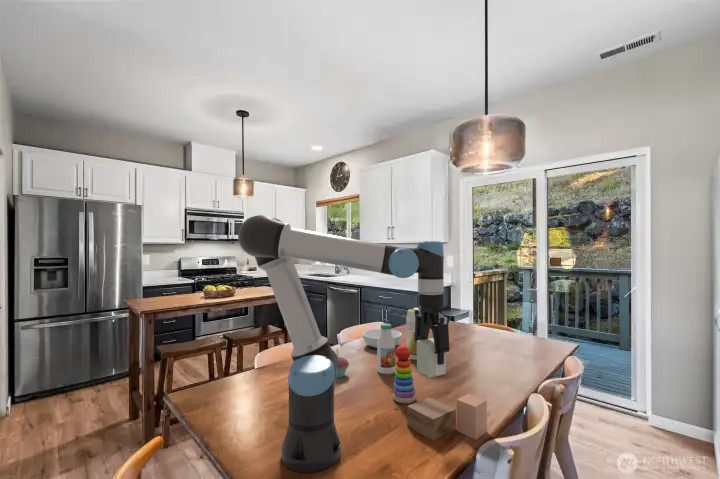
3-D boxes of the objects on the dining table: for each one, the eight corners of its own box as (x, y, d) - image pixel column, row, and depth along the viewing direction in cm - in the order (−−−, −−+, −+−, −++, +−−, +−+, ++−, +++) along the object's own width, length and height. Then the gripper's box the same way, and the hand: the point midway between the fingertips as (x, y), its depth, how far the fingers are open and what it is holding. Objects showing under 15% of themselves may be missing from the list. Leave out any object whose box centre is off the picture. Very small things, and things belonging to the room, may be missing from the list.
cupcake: (345, 380, 138) (345, 349, 138) (325, 378, 139) (325, 348, 139) (350, 372, 146) (350, 343, 146) (331, 370, 148) (331, 342, 148)
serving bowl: (357, 342, 191) (357, 330, 191) (392, 339, 197) (392, 327, 197) (370, 354, 171) (370, 340, 171) (408, 350, 177) (408, 336, 177)
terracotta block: (475, 439, 95) (475, 406, 95) (456, 430, 100) (456, 399, 100) (486, 431, 99) (486, 400, 99) (468, 423, 104) (467, 393, 104)
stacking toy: (400, 392, 126) (400, 341, 126) (420, 398, 121) (419, 345, 121) (388, 400, 120) (388, 345, 120) (408, 406, 114) (408, 350, 115)
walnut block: (433, 441, 95) (433, 419, 95) (407, 426, 103) (407, 405, 103) (456, 429, 101) (456, 409, 101) (429, 416, 109) (429, 397, 109)
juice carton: (406, 360, 162) (406, 308, 162) (406, 354, 169) (406, 305, 170) (426, 361, 160) (426, 309, 160) (426, 355, 168) (425, 306, 168)
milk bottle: (374, 372, 145) (374, 325, 146) (381, 367, 152) (381, 321, 153) (391, 376, 142) (391, 327, 142) (398, 370, 149) (397, 323, 149)
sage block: (429, 377, 98) (429, 345, 98) (417, 370, 103) (416, 340, 104) (446, 373, 101) (445, 342, 101) (433, 367, 106) (432, 338, 106)
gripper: (463, 296, 96) (463, 380, 95) (421, 288, 113) (422, 359, 112) (441, 298, 92) (442, 384, 92) (402, 290, 109) (402, 363, 109)
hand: (431, 370), depth 102 cm, fingers closed on sage block, 6 cm apart
